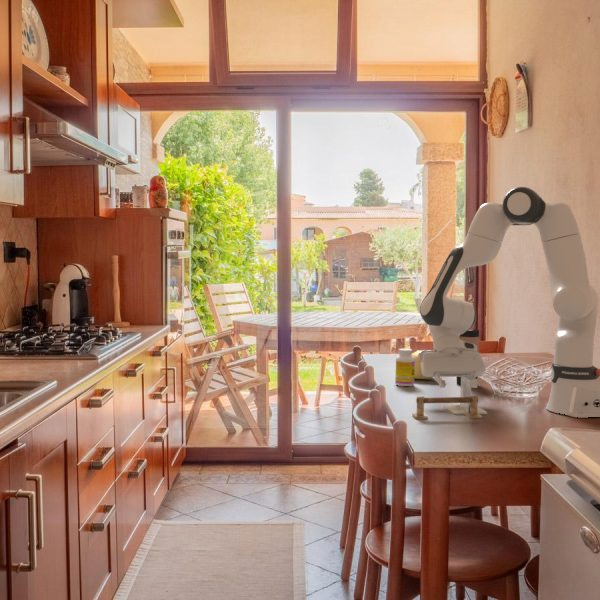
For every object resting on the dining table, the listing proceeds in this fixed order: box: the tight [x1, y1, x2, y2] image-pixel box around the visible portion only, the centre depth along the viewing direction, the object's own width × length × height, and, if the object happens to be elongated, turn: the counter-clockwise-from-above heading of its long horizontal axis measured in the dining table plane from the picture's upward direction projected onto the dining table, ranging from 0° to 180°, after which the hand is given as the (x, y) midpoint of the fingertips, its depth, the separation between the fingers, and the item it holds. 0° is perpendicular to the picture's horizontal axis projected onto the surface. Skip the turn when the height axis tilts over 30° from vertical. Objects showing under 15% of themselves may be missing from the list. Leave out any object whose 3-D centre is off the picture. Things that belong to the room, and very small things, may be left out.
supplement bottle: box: [394, 348, 415, 387], centre depth 258 cm, size 7×7×13 cm
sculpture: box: [412, 349, 434, 381], centre depth 271 cm, size 11×12×11 cm
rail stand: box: [411, 395, 483, 420], centre depth 211 cm, size 20×4×6 cm, turn 97°
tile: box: [443, 404, 488, 416], centre depth 220 cm, size 10×10×1 cm
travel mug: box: [456, 328, 480, 387], centre depth 260 cm, size 8×8×20 cm
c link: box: [459, 375, 478, 413], centre depth 217 cm, size 2×7×10 cm, turn 7°
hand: (457, 386), depth 226 cm, fingers open, 8 cm apart
